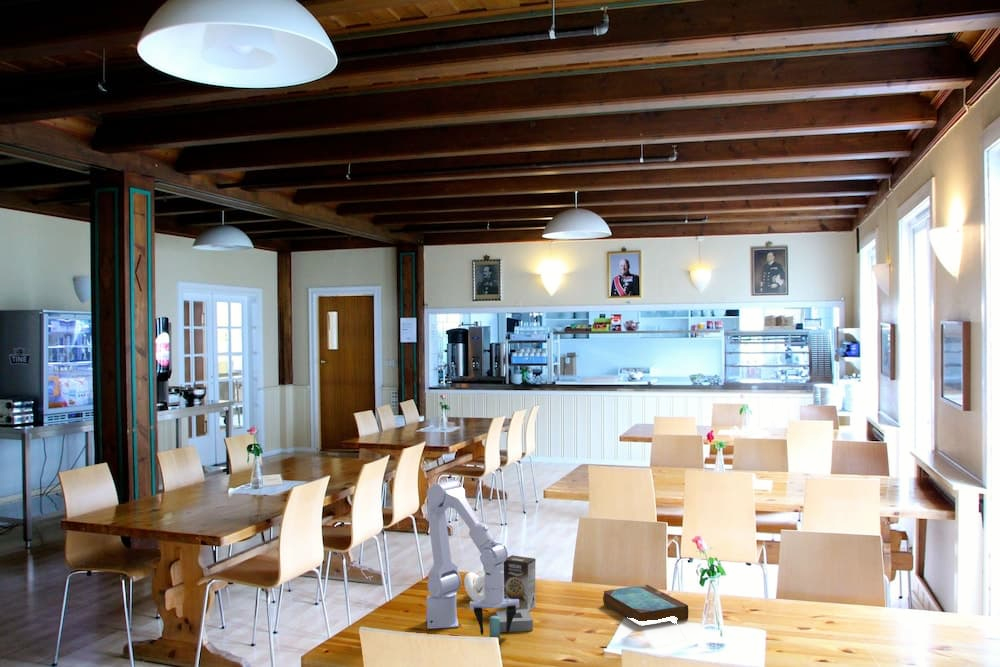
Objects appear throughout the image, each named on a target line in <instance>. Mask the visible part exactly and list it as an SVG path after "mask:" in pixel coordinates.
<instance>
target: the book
mask: <svg viewBox="0 0 1000 667" xmlns="http://www.w3.org/2000/svg"><path fill="white" fill-rule="evenodd" d="M602 592H603V597H602V602H603V606H605V605H606V606H607V608H608V607H609V608H608V609H610V610H611V609H612V611H613V612H614V613H616V614H618V615H620V616H621V617H623V618H625V619H626V618H627V617H628V618H634V619H636V620H638V621H647V620H658V619H662V618H666V617H670V616H675V617H677V618H678V620H677V621H682V620H689V605H688V604H686V603H685V602H682V601H681V600H678V599H676V598H675V597H672V596H670V595H668V594H667V593H664V592H663V591H660V590H658V589H657V588H655V587H653V586H650V585H649V584H644V585H634V586H627V587H622V588H614V589H608V590H603V591H602ZM606 606H605V607H606Z"/></svg>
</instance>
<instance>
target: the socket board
mask: <svg viewBox="0 0 1000 667" xmlns="http://www.w3.org/2000/svg"><path fill="white" fill-rule="evenodd" d="M495 616H498V617H500V633H507V631H506V620H507V617H506V609H504V610H496V611H495ZM533 623H534V620H533V618H532V616H531V613H530V611H528V609H522V610H516V614H515V615H514V617H513V620H512V623H511V626H510V632H509V633H511V632H524V631H525V632H528V631H529V632H530V631H534V630H533V629H534V628H533V627H534V624H533Z"/></svg>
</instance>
